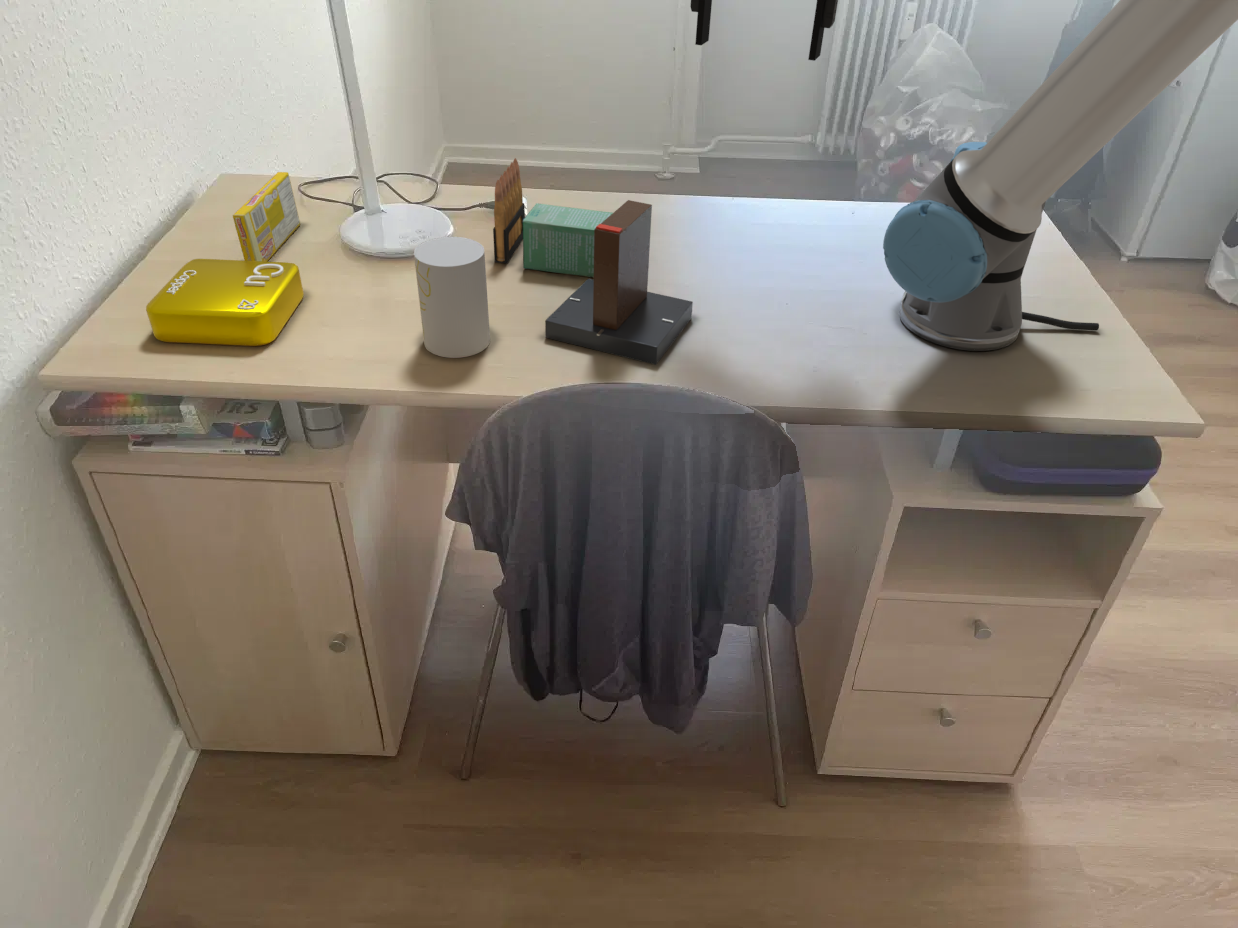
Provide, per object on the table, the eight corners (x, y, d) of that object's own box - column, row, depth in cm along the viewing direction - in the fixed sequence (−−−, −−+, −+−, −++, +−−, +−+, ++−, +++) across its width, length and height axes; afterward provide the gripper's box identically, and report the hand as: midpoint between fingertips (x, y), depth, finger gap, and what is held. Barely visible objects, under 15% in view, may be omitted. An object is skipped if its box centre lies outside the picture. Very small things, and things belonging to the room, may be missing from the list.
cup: (431, 323, 118) (421, 235, 111) (494, 326, 118) (489, 238, 111) (418, 356, 112) (407, 265, 104) (484, 359, 111) (478, 268, 104)
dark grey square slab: (693, 316, 122) (694, 298, 120) (654, 367, 111) (655, 348, 110) (589, 293, 126) (590, 275, 124) (543, 340, 116) (542, 321, 114)
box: (615, 281, 129) (617, 230, 125) (522, 271, 131) (520, 220, 126) (625, 260, 135) (627, 210, 130) (536, 250, 137) (534, 201, 132)
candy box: (287, 224, 141) (277, 171, 136) (301, 225, 141) (291, 171, 136) (244, 270, 128) (231, 213, 123) (259, 271, 128) (246, 214, 123)
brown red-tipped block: (624, 291, 121) (628, 198, 113) (647, 296, 120) (652, 202, 113) (592, 324, 114) (594, 227, 106) (616, 330, 113) (619, 232, 105)
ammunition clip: (506, 264, 132) (502, 182, 125) (494, 263, 133) (489, 181, 125) (525, 234, 141) (523, 156, 133) (514, 233, 141) (510, 155, 134)
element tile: (198, 286, 124) (189, 253, 121) (308, 291, 124) (302, 258, 121) (148, 342, 112) (137, 307, 109) (271, 348, 112) (262, 313, 109)
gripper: (656, -176, 95) (646, 43, 108) (898, -161, 88) (857, 72, 101) (680, -179, 101) (668, 30, 114) (910, -165, 94) (869, 56, 107)
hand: (757, 50), depth 107 cm, fingers open, 13 cm apart
